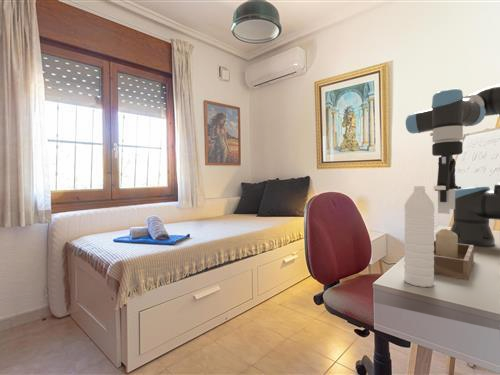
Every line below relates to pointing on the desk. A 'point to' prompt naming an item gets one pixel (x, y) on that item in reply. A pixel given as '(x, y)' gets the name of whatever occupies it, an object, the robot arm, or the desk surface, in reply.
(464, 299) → the desk surface
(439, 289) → the desk surface
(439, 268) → the walnut box
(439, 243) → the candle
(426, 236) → the water bottle
